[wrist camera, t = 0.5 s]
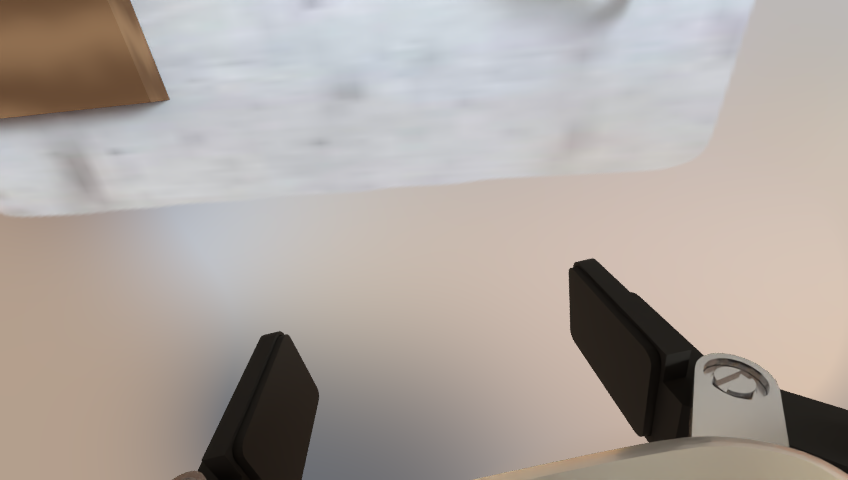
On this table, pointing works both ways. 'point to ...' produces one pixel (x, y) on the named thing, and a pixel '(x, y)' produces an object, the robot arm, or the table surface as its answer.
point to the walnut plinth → (73, 57)
